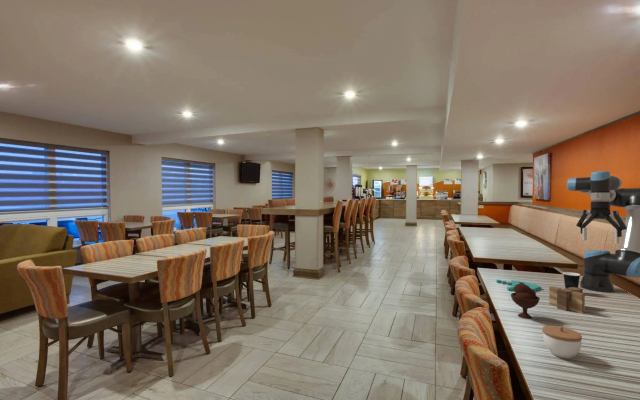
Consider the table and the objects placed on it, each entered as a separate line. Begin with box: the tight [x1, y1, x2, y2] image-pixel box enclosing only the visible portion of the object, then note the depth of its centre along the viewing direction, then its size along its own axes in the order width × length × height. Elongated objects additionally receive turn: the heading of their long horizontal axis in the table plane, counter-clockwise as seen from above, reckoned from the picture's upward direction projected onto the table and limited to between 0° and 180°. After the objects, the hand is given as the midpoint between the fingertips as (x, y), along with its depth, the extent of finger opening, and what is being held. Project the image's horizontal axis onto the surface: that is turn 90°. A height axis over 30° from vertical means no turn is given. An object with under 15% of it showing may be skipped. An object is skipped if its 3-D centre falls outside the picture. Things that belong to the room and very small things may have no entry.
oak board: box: [548, 285, 586, 314], centre depth 151 cm, size 2×14×9 cm, turn 24°
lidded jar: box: [541, 325, 583, 360], centre depth 106 cm, size 11×11×9 cm
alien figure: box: [495, 279, 542, 293], centre depth 188 cm, size 20×2×20 cm
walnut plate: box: [556, 287, 584, 312], centre depth 152 cm, size 14×4×9 cm, turn 114°
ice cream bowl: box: [510, 284, 540, 320], centre depth 140 cm, size 11×11×15 cm
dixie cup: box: [562, 271, 581, 289], centre depth 177 cm, size 8×8×11 cm
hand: (600, 241), depth 160 cm, fingers open, 13 cm apart
